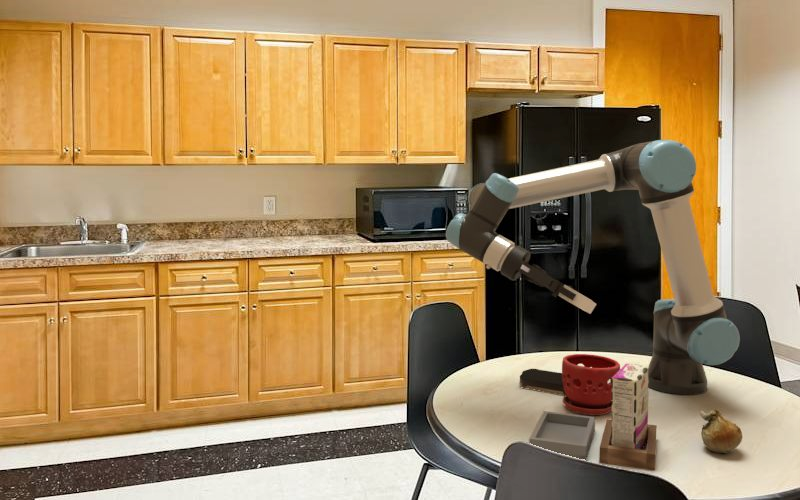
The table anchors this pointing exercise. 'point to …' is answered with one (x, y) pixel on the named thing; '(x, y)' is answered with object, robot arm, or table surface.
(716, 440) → the onion
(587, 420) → the tray
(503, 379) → the table surface
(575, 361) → the plant pot
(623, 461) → the brown rectangular open box
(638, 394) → the candy bar box
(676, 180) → the robot arm
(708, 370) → the table surface
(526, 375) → the black sponge
